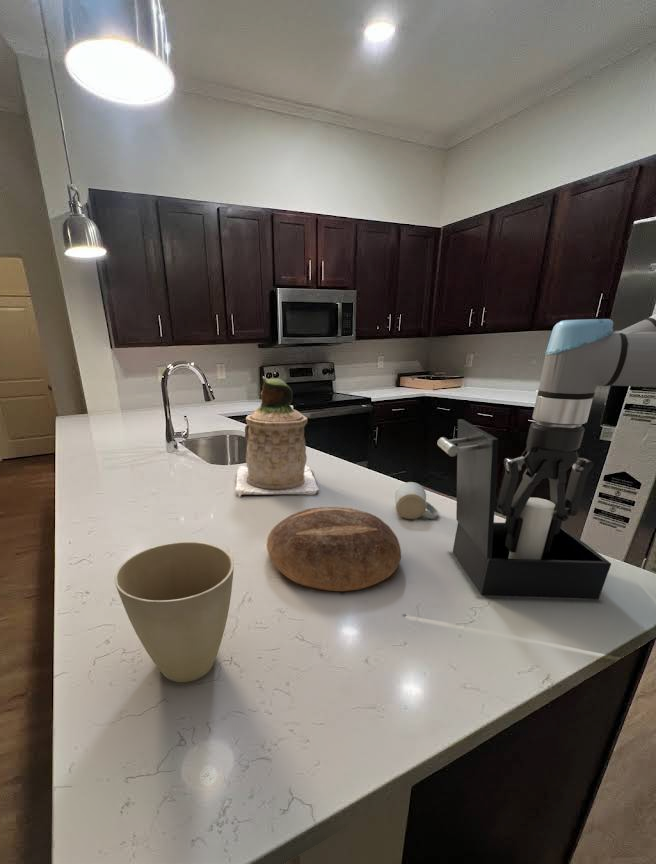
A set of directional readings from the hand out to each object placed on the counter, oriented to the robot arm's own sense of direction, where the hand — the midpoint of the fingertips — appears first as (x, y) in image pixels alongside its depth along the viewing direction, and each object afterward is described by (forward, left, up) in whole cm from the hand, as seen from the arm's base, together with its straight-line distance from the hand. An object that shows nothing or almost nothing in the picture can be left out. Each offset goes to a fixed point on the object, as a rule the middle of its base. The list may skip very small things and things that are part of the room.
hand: (526, 548), depth 77 cm
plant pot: (+48, +41, -6) cm, 64 cm away
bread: (+35, +5, -6) cm, 36 cm away
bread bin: (0, 0, -6) cm, 6 cm away
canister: (0, 0, -3) cm, 3 cm away
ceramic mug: (+20, -24, -6) cm, 32 cm away
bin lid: (+11, +3, +12) cm, 17 cm away
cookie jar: (+62, -36, -6) cm, 72 cm away
